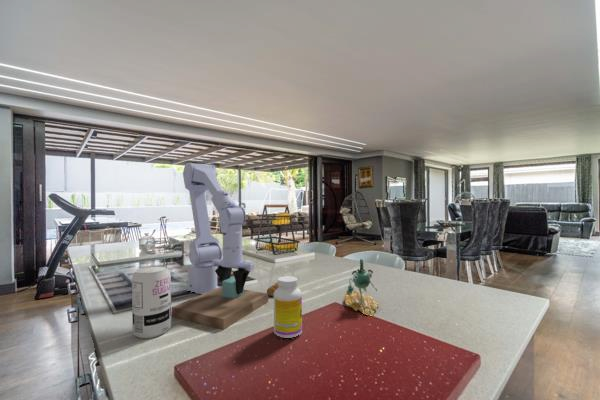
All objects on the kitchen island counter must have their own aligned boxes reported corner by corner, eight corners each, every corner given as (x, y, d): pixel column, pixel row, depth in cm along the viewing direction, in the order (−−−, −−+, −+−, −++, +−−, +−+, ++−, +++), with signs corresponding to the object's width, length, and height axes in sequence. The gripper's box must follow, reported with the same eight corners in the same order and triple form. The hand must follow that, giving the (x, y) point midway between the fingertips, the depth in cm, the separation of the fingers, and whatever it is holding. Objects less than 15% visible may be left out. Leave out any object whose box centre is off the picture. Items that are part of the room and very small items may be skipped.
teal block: (222, 304, 85) (222, 281, 85) (232, 299, 89) (231, 277, 89) (234, 307, 83) (234, 283, 83) (243, 302, 87) (243, 279, 87)
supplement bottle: (305, 338, 64) (304, 281, 64) (275, 341, 63) (275, 284, 63) (298, 325, 71) (298, 274, 71) (272, 328, 70) (271, 275, 69)
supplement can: (142, 324, 72) (141, 265, 72) (176, 323, 73) (175, 264, 73) (125, 340, 64) (124, 274, 64) (163, 338, 65) (162, 273, 65)
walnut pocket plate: (171, 316, 77) (171, 307, 77) (222, 293, 95) (222, 285, 95) (223, 329, 69) (223, 319, 69) (268, 301, 87) (268, 293, 87)
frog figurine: (368, 294, 94) (370, 250, 92) (386, 324, 76) (389, 271, 74) (339, 294, 93) (340, 250, 92) (351, 324, 76) (353, 271, 74)
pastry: (274, 299, 89) (273, 287, 89) (262, 294, 94) (261, 283, 94) (296, 293, 95) (296, 281, 95) (284, 288, 101) (284, 277, 101)
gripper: (204, 247, 85) (205, 292, 86) (243, 251, 79) (244, 300, 79) (220, 244, 92) (221, 286, 92) (258, 247, 85) (258, 292, 86)
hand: (233, 292), depth 86 cm, fingers closed on teal block, 4 cm apart
